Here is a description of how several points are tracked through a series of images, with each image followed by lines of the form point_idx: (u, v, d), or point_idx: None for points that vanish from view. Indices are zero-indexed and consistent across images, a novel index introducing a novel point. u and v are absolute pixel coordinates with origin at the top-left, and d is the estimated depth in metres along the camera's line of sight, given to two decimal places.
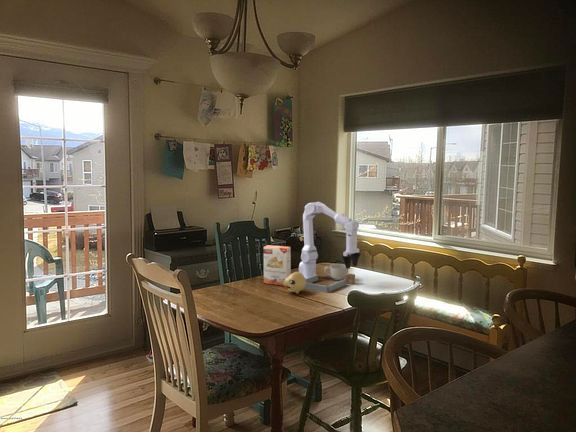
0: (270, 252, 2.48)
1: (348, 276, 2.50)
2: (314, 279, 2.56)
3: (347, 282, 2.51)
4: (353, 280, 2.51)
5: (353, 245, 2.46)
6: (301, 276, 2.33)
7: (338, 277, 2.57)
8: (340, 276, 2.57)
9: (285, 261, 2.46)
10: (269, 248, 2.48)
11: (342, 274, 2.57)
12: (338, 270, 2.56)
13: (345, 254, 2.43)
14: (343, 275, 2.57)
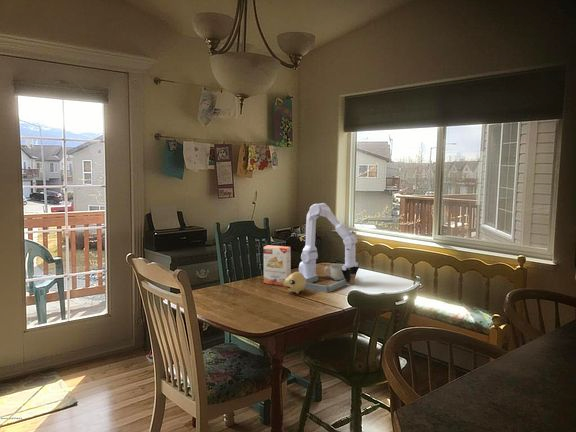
0: (270, 252, 2.48)
1: None
2: (314, 279, 2.56)
3: (347, 282, 2.51)
4: (353, 280, 2.51)
5: (352, 259, 2.48)
6: (301, 276, 2.33)
7: (338, 277, 2.57)
8: (340, 276, 2.57)
9: (285, 261, 2.46)
10: (269, 248, 2.48)
11: (342, 274, 2.57)
12: (338, 270, 2.56)
13: (344, 268, 2.45)
14: (343, 275, 2.57)
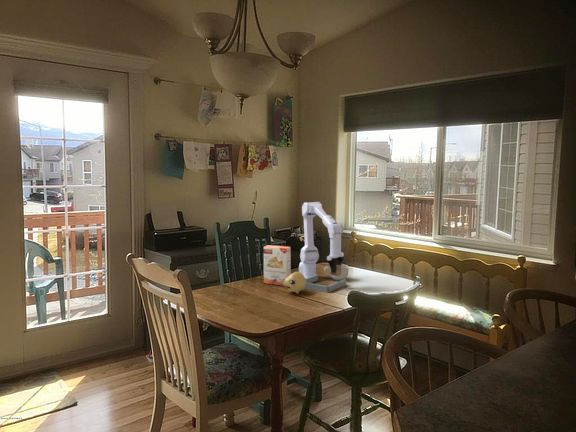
0: (270, 252, 2.48)
1: None
2: (314, 279, 2.56)
3: (333, 273, 2.42)
4: (339, 271, 2.42)
5: (337, 249, 2.39)
6: (301, 276, 2.33)
7: (338, 277, 2.57)
8: (340, 276, 2.57)
9: (285, 261, 2.46)
10: (269, 248, 2.48)
11: (342, 274, 2.57)
12: None
13: (329, 258, 2.36)
14: (343, 275, 2.57)
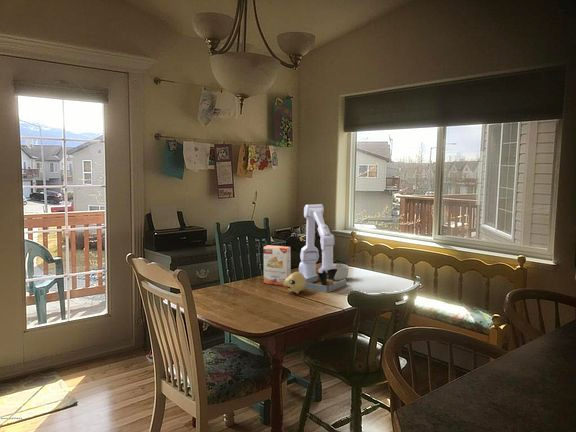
0: (270, 252, 2.48)
1: (326, 282, 2.38)
2: (314, 279, 2.56)
3: None
4: None
5: (329, 261, 2.36)
6: (301, 276, 2.33)
7: (338, 277, 2.57)
8: (340, 276, 2.57)
9: (285, 261, 2.46)
10: (269, 248, 2.48)
11: (342, 274, 2.57)
12: (338, 270, 2.56)
13: (320, 271, 2.33)
14: (343, 275, 2.57)
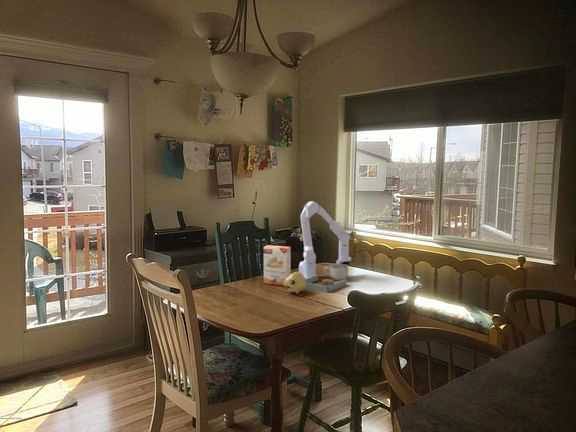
0: (270, 252, 2.48)
1: (326, 282, 2.38)
2: (314, 279, 2.56)
3: None
4: None
5: (345, 254, 2.65)
6: (301, 276, 2.33)
7: (338, 277, 2.57)
8: (340, 276, 2.57)
9: (285, 261, 2.46)
10: (269, 248, 2.48)
11: (342, 274, 2.57)
12: (338, 270, 2.56)
13: (338, 263, 2.62)
14: (343, 275, 2.57)
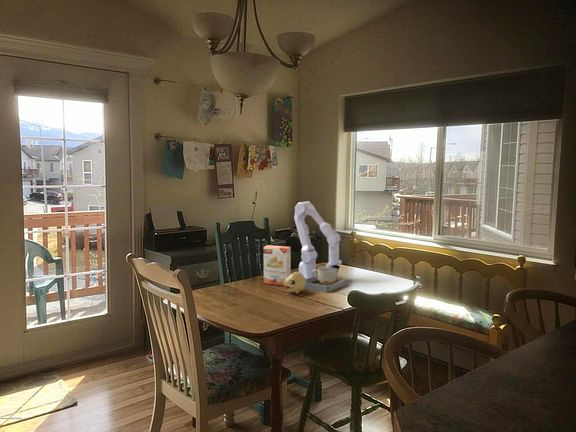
0: (270, 252, 2.48)
1: (326, 282, 2.38)
2: (314, 279, 2.56)
3: None
4: None
5: (335, 257, 2.56)
6: (301, 276, 2.33)
7: None
8: None
9: (285, 261, 2.46)
10: (269, 248, 2.48)
11: (328, 278, 2.48)
12: (324, 274, 2.48)
13: (327, 266, 2.53)
14: (330, 279, 2.48)
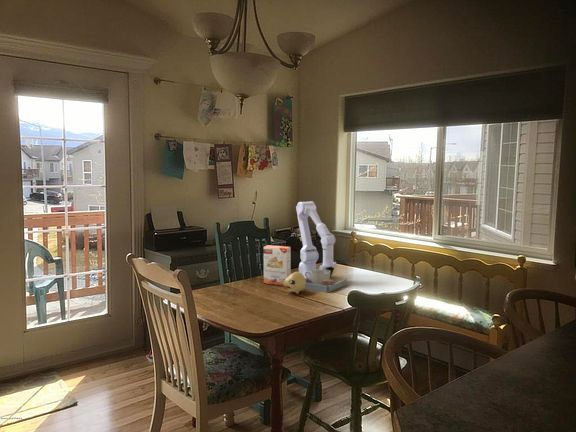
0: (270, 252, 2.48)
1: (326, 282, 2.38)
2: None
3: None
4: None
5: (329, 259, 2.51)
6: (301, 276, 2.33)
7: (317, 283, 2.44)
8: (319, 282, 2.43)
9: (285, 261, 2.46)
10: (269, 248, 2.48)
11: (321, 280, 2.43)
12: (316, 276, 2.43)
13: (321, 268, 2.48)
14: (322, 281, 2.43)
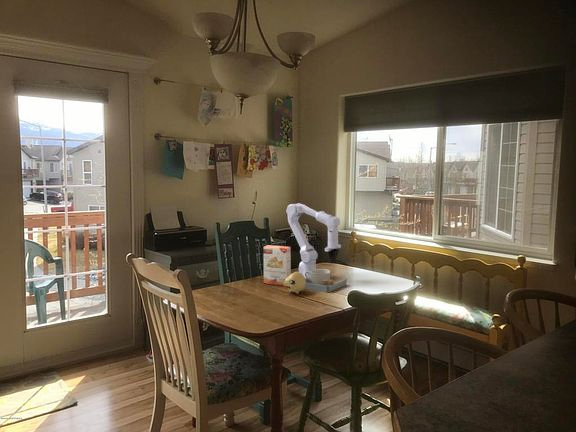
0: (270, 252, 2.48)
1: (326, 282, 2.38)
2: None
3: None
4: None
5: (334, 241, 2.54)
6: (301, 276, 2.33)
7: (317, 283, 2.44)
8: (319, 282, 2.44)
9: (285, 261, 2.46)
10: (269, 248, 2.48)
11: (321, 280, 2.43)
12: (316, 276, 2.43)
13: (326, 250, 2.51)
14: (322, 281, 2.43)
